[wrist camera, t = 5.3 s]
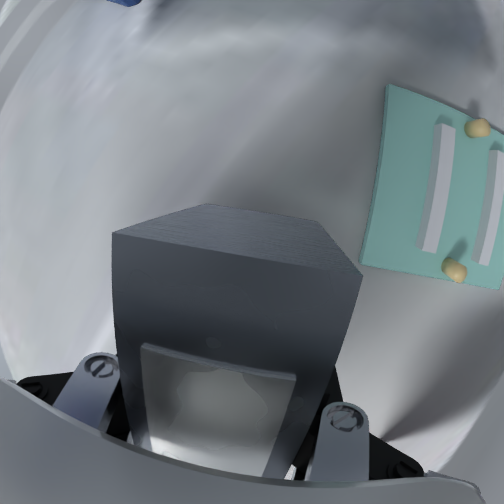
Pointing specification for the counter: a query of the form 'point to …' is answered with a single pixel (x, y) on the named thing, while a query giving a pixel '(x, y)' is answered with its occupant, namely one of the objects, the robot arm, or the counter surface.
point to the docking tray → (437, 194)
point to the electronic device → (126, 2)
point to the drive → (228, 333)
